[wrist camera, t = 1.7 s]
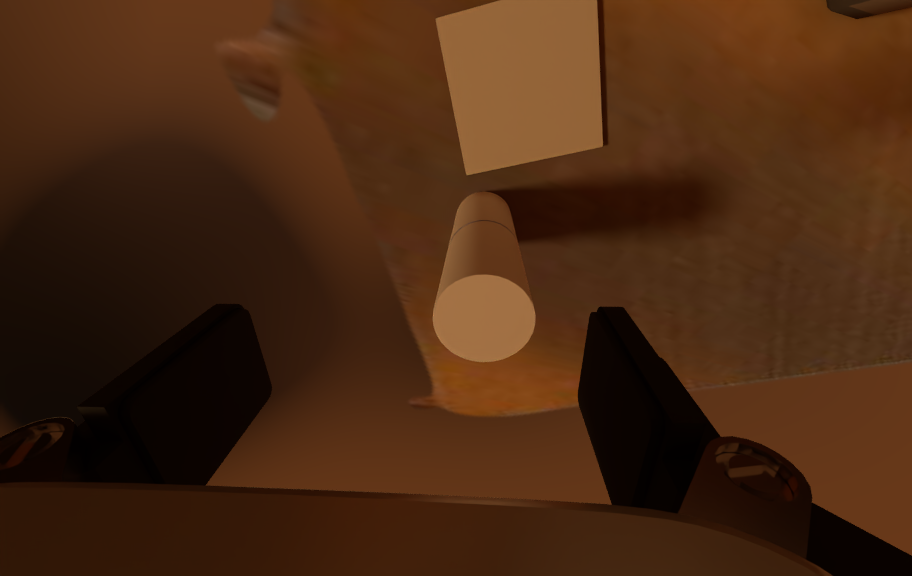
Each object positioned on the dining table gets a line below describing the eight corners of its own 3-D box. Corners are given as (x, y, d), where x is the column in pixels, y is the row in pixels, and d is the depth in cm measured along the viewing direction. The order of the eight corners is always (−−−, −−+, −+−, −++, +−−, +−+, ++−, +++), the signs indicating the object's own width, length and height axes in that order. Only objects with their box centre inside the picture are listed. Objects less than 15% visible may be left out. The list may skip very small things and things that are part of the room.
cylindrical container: (485, 179, 46) (488, 253, 24) (522, 220, 48) (556, 325, 26) (444, 217, 48) (411, 316, 26) (481, 255, 50) (479, 377, 28)
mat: (593, -25, 36) (596, -27, 36) (600, 145, 43) (603, 146, 43) (436, 20, 39) (435, 18, 38) (466, 174, 46) (466, 175, 45)
